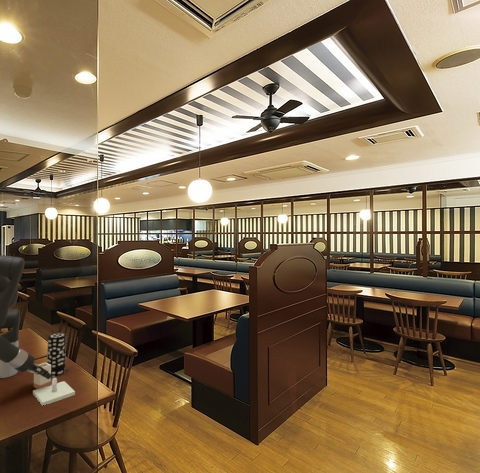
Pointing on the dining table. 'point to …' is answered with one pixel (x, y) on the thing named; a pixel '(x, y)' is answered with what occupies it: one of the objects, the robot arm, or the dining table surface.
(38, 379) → the sleeve
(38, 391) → the pin board
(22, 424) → the dining table surface
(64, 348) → the spotted tube
